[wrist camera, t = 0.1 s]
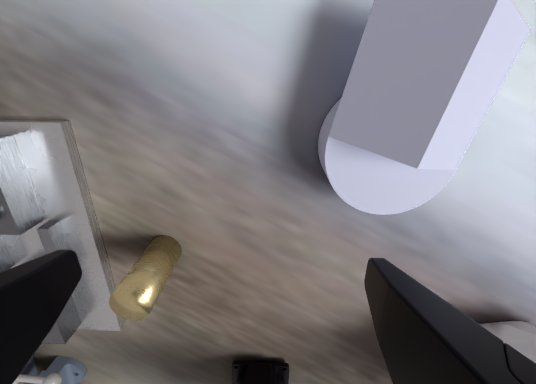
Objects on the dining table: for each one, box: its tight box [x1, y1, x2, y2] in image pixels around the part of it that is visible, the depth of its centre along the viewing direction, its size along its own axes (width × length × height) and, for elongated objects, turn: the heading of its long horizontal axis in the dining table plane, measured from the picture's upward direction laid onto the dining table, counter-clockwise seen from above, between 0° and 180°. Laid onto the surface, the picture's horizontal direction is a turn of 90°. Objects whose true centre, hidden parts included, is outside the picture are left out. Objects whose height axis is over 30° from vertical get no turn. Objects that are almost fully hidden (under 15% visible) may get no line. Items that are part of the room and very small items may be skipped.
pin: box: [109, 236, 182, 321], centre depth 23 cm, size 3×3×7 cm
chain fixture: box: [0, 120, 125, 344], centre depth 25 cm, size 22×12×4 cm, turn 0°
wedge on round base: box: [318, 0, 532, 215], centre depth 18 cm, size 9×7×13 cm
